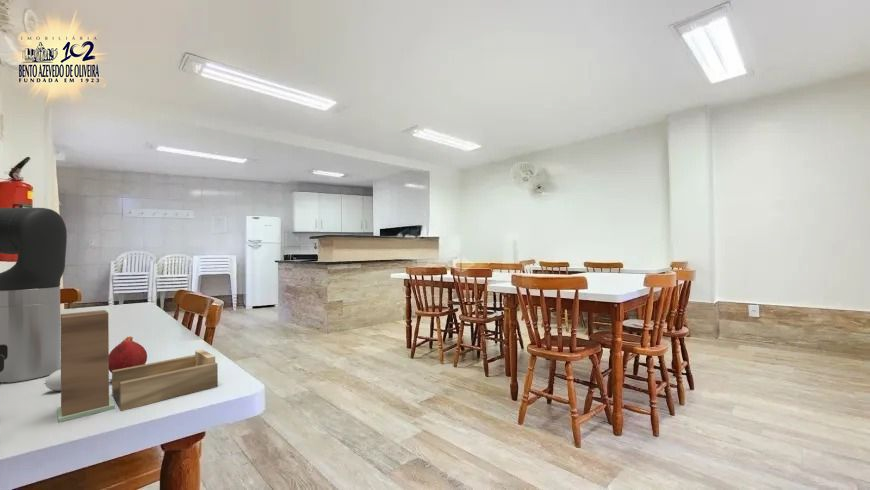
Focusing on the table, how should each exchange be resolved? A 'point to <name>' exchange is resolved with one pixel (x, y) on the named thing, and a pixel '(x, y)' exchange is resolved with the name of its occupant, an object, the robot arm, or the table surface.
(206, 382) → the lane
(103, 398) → the post
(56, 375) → the egg
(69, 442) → the table surface
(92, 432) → the table surface
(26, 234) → the robot arm
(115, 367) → the onion
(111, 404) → the pad
